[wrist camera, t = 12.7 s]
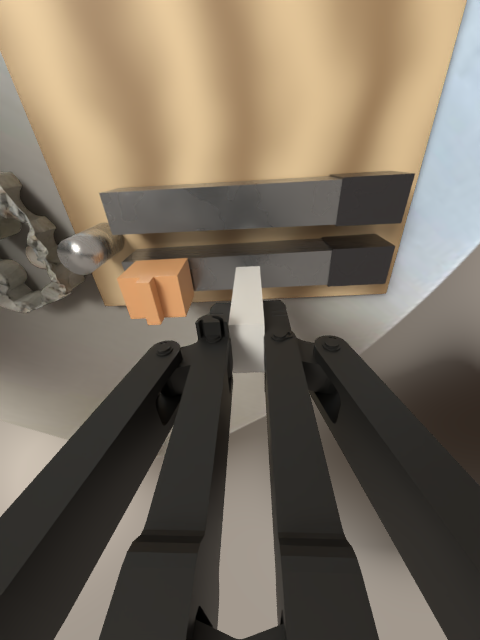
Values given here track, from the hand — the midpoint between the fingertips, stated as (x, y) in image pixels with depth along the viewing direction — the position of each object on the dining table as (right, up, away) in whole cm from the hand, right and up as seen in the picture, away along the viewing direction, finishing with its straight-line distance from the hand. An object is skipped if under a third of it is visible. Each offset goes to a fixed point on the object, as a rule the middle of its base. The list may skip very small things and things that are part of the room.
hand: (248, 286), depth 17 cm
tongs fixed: (-1, +4, +3) cm, 5 cm away
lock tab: (-6, +1, +2) cm, 6 cm away
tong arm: (0, +6, +1) cm, 6 cm away
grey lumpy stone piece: (-19, +5, +5) cm, 20 cm away
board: (-1, +9, +2) cm, 9 cm away
